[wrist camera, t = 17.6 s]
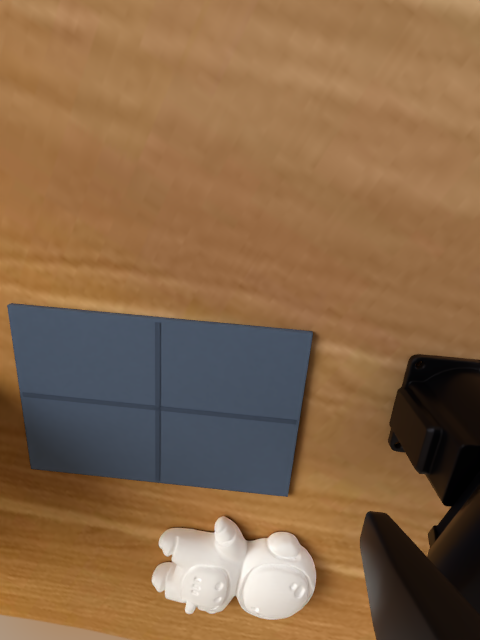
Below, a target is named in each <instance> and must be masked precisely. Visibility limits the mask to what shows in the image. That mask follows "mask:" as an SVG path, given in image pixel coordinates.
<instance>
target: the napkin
mask: <svg viewBox="0 0 480 640" xmlns="http://www.w3.org/2000/svg"><path fill="white" fill-rule="evenodd" d="M7 306H8V313H9V320H10V327H11V334H12V341H13V348H14V355H15V361H16V368H17V375H18V382H19V389H20V396H21V403H22V410H23V417H24V423H25V430H26V437H27V444H28V451H29V458H30V465H31V469H37V470H47V471H56V472H65V473H74V474H83V475H93V476H102V477H111V478H120V479H129V480H139V481H148V482H157V483H166V484H176V485H185V486H194V487H203V488H212V489H222V490H231V491H240V492H249V493H258V494H268V495H277V496H286V497H288V492H289V486H290V479H291V473H292V466H293V460H294V453H295V447H296V440H297V434H298V427H299V421H300V414H301V408H302V401H303V395H304V389H305V382H306V376H307V369H308V363H309V356H310V350H311V343H312V337H313V333H312V331H304V330H293V329H282V328H271V327H261V326H250V325H239V324H228V323H218V322H207V321H196V320H185V319H174V318H164V317H153V316H142V315H131V314H120V313H110V312H99V311H88V310H77V309H67V308H56V307H45V306H34V305H23V304H13V303H11V304H9V305H7Z"/></svg>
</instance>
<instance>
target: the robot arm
mask: <svg viewBox="0 0 480 640" xmlns="http://www.w3.org/2000/svg"><path fill="white" fill-rule="evenodd" d="M419 361H422V363H421V364H420V365H419V366H415V365H416V363H417V362H419ZM390 426H391V431H390V435H389V439H388V443H389V445H390V447H391V449H392V450H394V451H398V452H406V454H407V456H408V458H409V459H410V461H411V463H412V465H413V466H414V468H415V469H416V471H417V472H418V473H419V474H425V475H426V476H427V478H428V480H429V481H430V483H431V485H432V486H433V488H434V490H435V491H436V493H437V495H438V496H439V498H440V500H441V501H442V503H443V504H444V505H446V506H451V508H450V510H449V511H448V512H447V514H446V515H445V516H444V518H443V519H442V520H441V522H440V523H439V524H438V525H437V526H433V528H432V529H431V530H430V532H429V533H428V538H429V545H430V549H429V552H428V556H427V557H426V556H425V554H424V553H423V552H422V551H421V550H420V549H419V548H418V547H417V546H416V545H415V544H414V542H413V541H412V540H411V539H410V538H409V537H408V536H407V535H406V534H405V533H404V532H403V531H402V529H401V528H400V527H399V526H398V525H397V524H396V523H395V522H394V521H393V520H392V519H391V517H390V516H389V515H387V514H386V513H382V512H373V511H369V512H368V513H367V514H366V517H365V521H364V525H363V529H362V533H361V537H360V549H361V555H362V561H363V567H364V573H365V579H366V585H367V591H368V597H369V603H370V609H371V615H372V621H373V626H374V631H375V635H376V639H377V640H480V360H474V359H463V358H453V357H442V356H431V355H421V354H417V355H414V356H412V357H411V358H410V359H409V361H408V365H407V369H406V373H405V377H404V380H403V384H402V387H401V388H400V389H399V390H398V392H397V396H396V399H395V403H394V407H393V411H392V415H391V419H390ZM398 441H399V442H400V443H398V444H395V443H396V442H398Z"/></svg>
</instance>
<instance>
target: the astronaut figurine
mask: <svg viewBox="0 0 480 640" xmlns="http://www.w3.org/2000/svg"><path fill="white" fill-rule="evenodd" d="M159 547H160V548H161V549H162V550H163V553H164V555H165V556H170V555H172V562H165V563H161V564H159V565H158V566H157V567H156V569H155V571H154V573H153V576H152V584H153V585H154V586H155V588H156V590H157V591H158V592H162V591H164V590H165V598H167V599H170V600H173V601H178V602H182V603H186V608H185V612H186V613H188V614H192V613H193V612H194V611H195V609H196V607H197V608H198V609H199V610H202V611H206V612H208V613H210V614H214V613H216V612H220V611H222V610H223V609H224V608H225V607H226V606H227V605H228V604H229V602H230V601H231V600H232V598H233V597H234V596H236V597H237V599H238V601H239V604H240V606H241V607H242V609H243V610H245V611H246V612H248V613H249V614H252V615H254V616H256V617H259V618H263V619H272V620H276V619H283V618H287V617H290V616H292V615H293V614H295V613H296V612H298V611H299V610H301V609H302V608H303V607H304V606H305V605H306V604H307V603H308V601H309V600H310V598H311V597H312V595H313V592H314V589H315V584H316V570H315V565H314V562H313V559H312V557H311V555H310V554H309V553H308V551H307V550H306V549H305V548H304V547H303V546H301V545H300V544H299V542H298V539H297V538H296V537H295V536H294V535H293V534H291V533H288V532H276V533H273V534H271V535H270V536H269V537H268V538H261V539H257V540H253V541H247V540H245V539H244V537H243V535H242V533H241V531H240V529H239V528H238V526H237V525H236V524H235V523H234V522H233V521H232V520H230V519H229V518H227V517H225V516H222V517H220V518H218V520H217V521H216V523H215V532H213V533H211V532H205V531H199V530H195V529H187V528H170V529H167V530H166V531H165V532H164V533H163V534H162V535H161V537H160V539H159ZM173 562H174V563H173Z"/></svg>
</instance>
